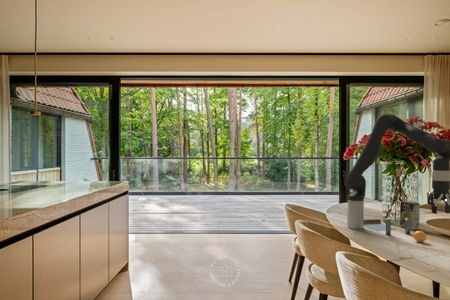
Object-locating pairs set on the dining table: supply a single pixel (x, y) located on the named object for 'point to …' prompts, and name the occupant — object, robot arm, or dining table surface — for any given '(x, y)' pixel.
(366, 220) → the stopper
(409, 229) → the post
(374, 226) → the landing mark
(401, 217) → the coffee box
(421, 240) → the ball
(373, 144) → the robot arm
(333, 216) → the dining table surface
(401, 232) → the dining table surface
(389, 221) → the post
